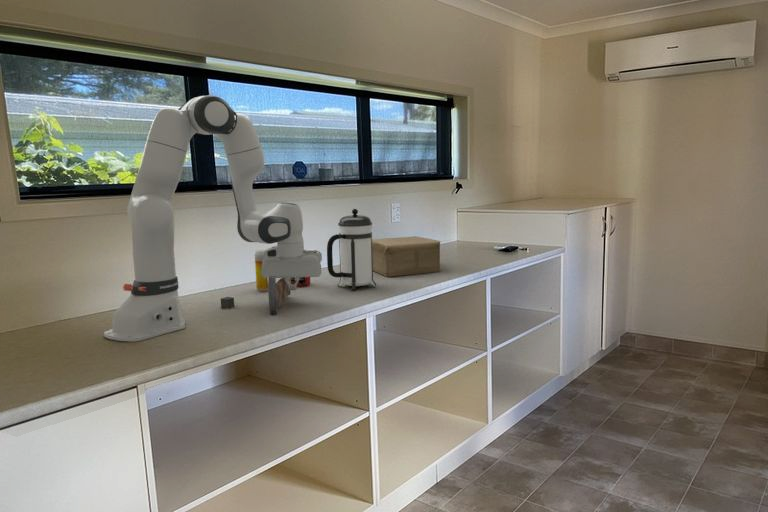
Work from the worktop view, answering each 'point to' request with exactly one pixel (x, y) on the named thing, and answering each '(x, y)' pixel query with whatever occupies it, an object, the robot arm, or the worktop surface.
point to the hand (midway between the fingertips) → (292, 290)
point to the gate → (281, 291)
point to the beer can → (260, 281)
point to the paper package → (405, 256)
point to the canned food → (301, 281)
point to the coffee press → (353, 251)
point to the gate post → (272, 295)
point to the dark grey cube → (227, 302)
